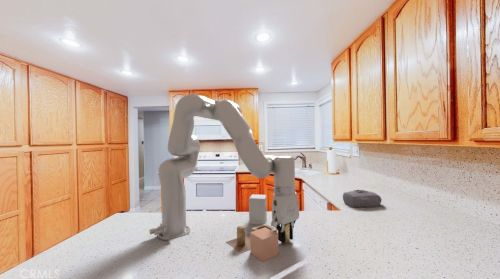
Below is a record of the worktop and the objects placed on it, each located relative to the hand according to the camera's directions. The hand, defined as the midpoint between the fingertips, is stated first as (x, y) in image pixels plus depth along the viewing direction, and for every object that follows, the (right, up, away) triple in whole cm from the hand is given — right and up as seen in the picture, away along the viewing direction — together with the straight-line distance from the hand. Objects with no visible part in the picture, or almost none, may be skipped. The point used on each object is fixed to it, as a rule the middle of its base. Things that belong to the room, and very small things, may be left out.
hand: (285, 239), depth 77 cm
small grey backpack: (+53, -2, +46) cm, 70 cm away
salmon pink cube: (-8, -2, -7) cm, 11 cm away
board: (-12, -2, +2) cm, 12 cm away
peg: (0, -2, 0) cm, 2 cm away
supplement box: (-9, -3, +21) cm, 23 cm away
